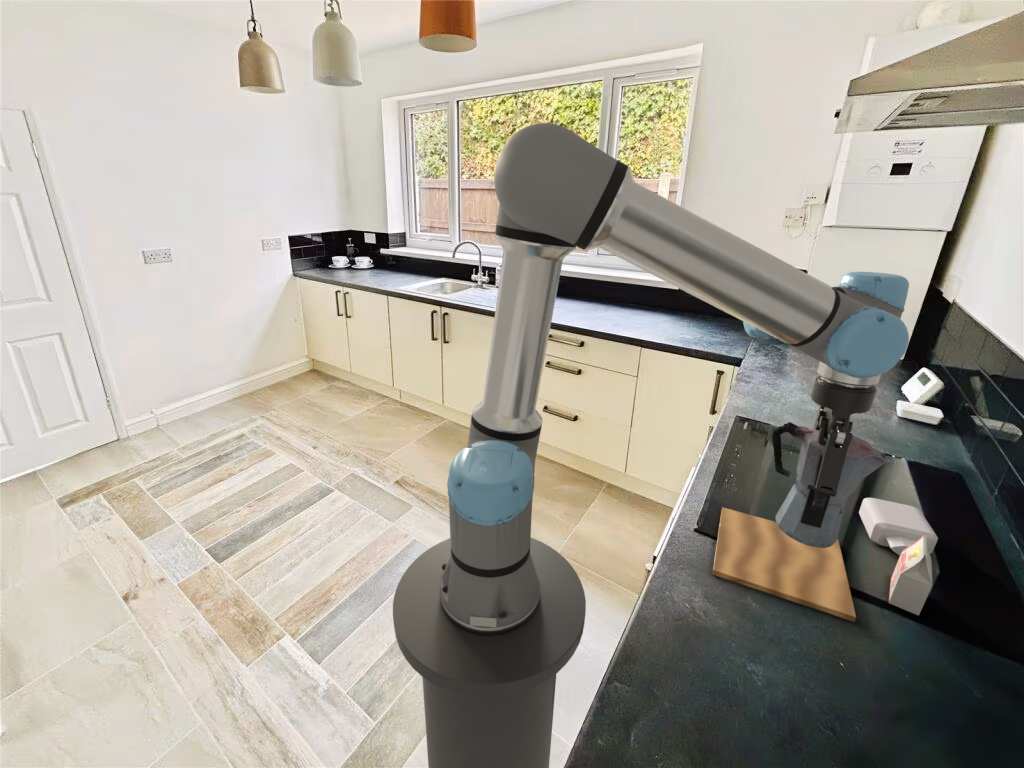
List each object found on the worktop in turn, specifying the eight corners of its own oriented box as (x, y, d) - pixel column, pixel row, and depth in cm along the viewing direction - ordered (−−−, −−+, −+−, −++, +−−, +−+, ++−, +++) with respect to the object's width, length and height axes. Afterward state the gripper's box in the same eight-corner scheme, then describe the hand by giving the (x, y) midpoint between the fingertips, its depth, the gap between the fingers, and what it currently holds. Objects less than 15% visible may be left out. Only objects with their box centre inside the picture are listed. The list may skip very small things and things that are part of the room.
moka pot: (856, 567, 69) (898, 450, 62) (746, 526, 78) (772, 419, 70) (858, 534, 76) (897, 426, 69) (757, 500, 85) (782, 401, 78)
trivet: (711, 574, 77) (713, 569, 77) (721, 511, 94) (722, 507, 93) (854, 622, 69) (856, 617, 68) (836, 543, 85) (838, 538, 85)
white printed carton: (919, 590, 75) (940, 540, 71) (918, 615, 70) (942, 563, 66) (890, 578, 77) (910, 530, 74) (888, 602, 72) (909, 552, 69)
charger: (878, 563, 80) (857, 515, 93) (944, 580, 77) (913, 528, 90) (886, 541, 79) (864, 495, 92) (954, 557, 75) (921, 508, 88)
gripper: (894, 410, 57) (844, 556, 65) (864, 365, 74) (827, 484, 82) (824, 398, 60) (784, 539, 68) (810, 358, 78) (780, 473, 86)
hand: (807, 509), depth 75 cm, fingers closed on moka pot, 8 cm apart
